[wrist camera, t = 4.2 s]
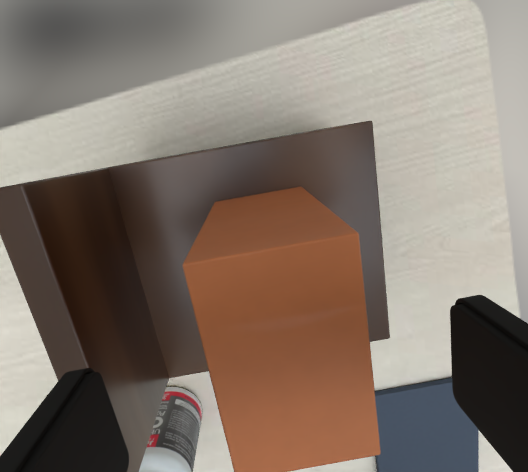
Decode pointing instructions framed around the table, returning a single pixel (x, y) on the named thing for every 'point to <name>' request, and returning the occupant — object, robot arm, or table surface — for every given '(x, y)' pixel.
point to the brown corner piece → (166, 254)
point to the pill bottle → (174, 433)
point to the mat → (424, 430)
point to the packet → (284, 331)
